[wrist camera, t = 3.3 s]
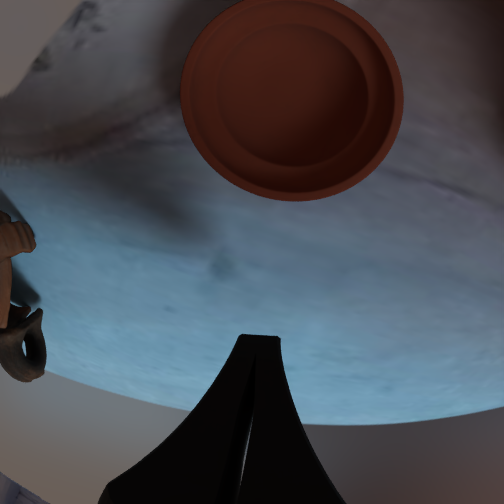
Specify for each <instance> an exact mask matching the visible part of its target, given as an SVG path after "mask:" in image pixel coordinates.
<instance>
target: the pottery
mask: <svg viewBox="0 0 504 504" xmlns="http://www.w3.org/2000/svg"><path fill="white" fill-rule="evenodd" d="M180 103H181V110H182V115H183V119H184V123H185V126H186V128H187V131H188V133H189V136H190V138H191V140H192V142H193V143H194V145H195V147H196V148H197V150H198V151H199V153H200V154H201V155H202V157H203V158H204V159H205V160H206V162H207V163H208V164H209V165H210V166H211V167H212V168H213V169H214V170H215V171H216V172H218V173H219V174H220V175H221V176H222V177H224V178H225V179H226V180H228V181H229V182H231V183H232V184H234V185H236V186H238V187H239V188H241V189H243V190H246V191H248V192H250V193H253V194H255V195H258V196H262V197H265V198H269V199H274V200H281V201H310V200H317V199H322V198H326V197H329V196H332V195H335V194H338V193H340V192H343V191H345V190H347V189H349V188H351V187H352V186H354V185H356V184H357V183H359V182H360V181H362V180H363V179H364V178H366V177H367V176H368V175H369V174H370V173H372V172H373V171H374V170H375V169H376V168H377V167H378V165H379V164H380V163H381V162H382V161H383V159H384V158H385V157H386V155H387V154H388V152H389V151H390V149H391V147H392V145H393V143H394V141H395V139H396V136H397V134H398V131H399V128H400V124H401V120H402V114H403V103H404V96H403V85H402V80H401V75H400V72H399V68H398V66H397V63H396V60H395V58H394V56H393V54H392V52H391V50H390V48H389V47H388V45H387V43H386V42H385V41H384V39H383V38H382V36H381V35H380V34H379V33H378V32H377V30H376V29H375V28H374V27H373V26H372V25H371V24H370V23H369V22H368V21H367V20H365V19H364V18H363V17H362V16H360V15H359V14H358V13H356V12H355V11H353V10H352V9H350V8H349V7H347V6H345V5H343V4H341V3H339V2H337V1H335V0H243V1H240V2H238V3H236V4H234V5H232V6H231V7H229V8H227V9H226V10H224V11H223V12H222V13H220V14H219V15H218V16H216V17H215V18H214V19H213V20H212V21H211V22H210V23H209V24H208V25H207V26H206V27H205V28H204V29H203V30H202V32H201V33H200V34H199V36H198V37H197V39H196V40H195V42H194V43H193V45H192V47H191V49H190V51H189V53H188V55H187V58H186V61H185V64H184V67H183V71H182V76H181V83H180Z"/></svg>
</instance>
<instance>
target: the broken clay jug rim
mask: <svg viewBox="0 0 504 504" xmlns="http://www.w3.org/2000/svg"><path fill="white" fill-rule="evenodd" d="M35 247H36V242H35V239H34V236H33V233H32V230H31V228H30V226H29V225H27V224H24V223H22V222H20V221H16V222H11V217H10V216H9V215H8V214H7V213H4V212H3V211H1V210H0V363H1V365H2V367H3V368H4V370H5V371H6V372H7V373H8V374H9V375H10V376H12V377H13V378H14V379H17V380H19V381H21V382H31V381H32V380H33V379H36V378H39V377H41V376H42V375H43V374H44V368H45V365H46V357H47V354H46V345H45V340H44V336H43V333H42V330H41V322H42V316H43V310H42V309H41V308H38V309H37V310H36V311H35V312H33V313H31V314H30V315H29V316H28V314H29V313H30V312H31V308H30V307H29V306H28V307H18V306H15V305H13V304H11V303H10V293H11V285H12V265H11V257H13V256H15V255H17V254H19V253H22V252H25V253H31V252H32V251H33V250H34V249H35ZM27 316H28V317H27ZM26 317H27V318H26ZM23 340H24V341H25V346H26V356H25V354H24V352H23V349H22V343H23Z"/></svg>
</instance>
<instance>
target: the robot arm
mask: <svg viewBox="0 0 504 504" xmlns="http://www.w3.org/2000/svg"><path fill="white" fill-rule="evenodd" d="M252 419H253V420H252ZM251 424H252V426H251ZM250 428H251V433H250V438H249V444H248V449H247V455H246V460H245V465H244V470H243V475H242V467H243V460H244V455H245V449H246V445H247V441H248V436H249V432H250ZM241 475H242V480H241ZM240 483H241V485H240ZM0 504H50V503H48V502H46V501H44V500H42V499H41V498H40V497H39V496H37V495H35V494H34V493H32V492H30V491H29V490H27V489H26V488H24V487H22V486H21V485H19V484H18V483H16V482H14V481H13V480H11V479H10V478H8V477H7V476H5V475H4V474H3V473H1V472H0ZM98 504H346V503H345V501H344V500H343V498H342V497H341V496H340V494H339V493H338V491H337V490H336V488H335V486H334V485H333V483H332V482H331V480H330V479H329V477H328V475H327V474H326V472H325V470H324V468H323V466H322V465H321V463H320V461H319V459H318V457H317V456H316V454H315V452H314V450H313V448H312V446H311V444H310V442H309V439H308V437H307V436H306V433H305V431H304V428H303V426H302V424H301V421H300V419H299V416H298V413H297V411H296V408H295V405H294V402H293V399H292V396H291V393H290V389H289V386H288V382H287V379H286V375H285V371H284V366H283V361H282V355H281V338H279V337H278V336H267V335H250V334H241V335H239V336H238V339H237V341H236V343H235V345H234V348H233V350H232V352H231V354H230V355H229V357H228V359H227V361H226V363H225V364H224V366H223V368H222V369H221V371H220V372H219V374H218V376H217V377H216V379H215V380H214V382H213V383H212V385H211V386H210V388H209V389H208V391H207V392H206V393H205V395H204V396H203V397H202V399H201V400H200V401H199V403H198V404H197V405H196V407H195V408H194V409H193V410H192V411H191V413H190V414H189V415H188V416H187V417H186V418H185V420H184V421H183V422H182V423H181V424H180V425H179V426H178V427H177V428H176V429H175V430H174V431H173V432H172V433H171V434H170V435H169V436H168V437H167V438H166V439H165V440H164V441H163V442H162V443H161V444H160V445H159V446H158V447H156V448H155V449H154V450H153V451H152V452H150V453H149V454H148V455H147V456H145V457H144V458H143V459H142V460H141V461H139V462H138V463H137V464H136V465H134V466H133V467H131V468H130V469H128V470H127V471H125V472H124V473H122V474H121V475H120V476H118V477H116V478H115V479H113V480H112V481H110V482H109V483H108V484H107V485H106V487H105V489H104V491H103V493H102V495H101V497H100V498H99V501H98Z"/></svg>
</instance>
